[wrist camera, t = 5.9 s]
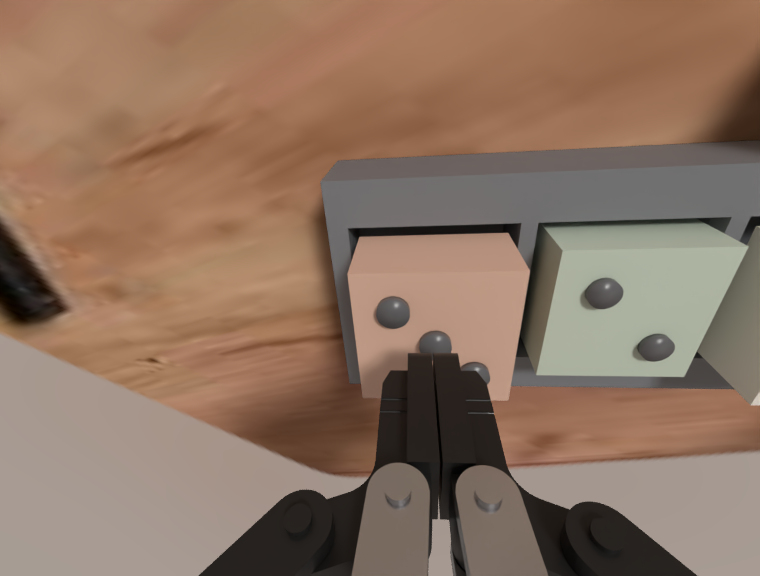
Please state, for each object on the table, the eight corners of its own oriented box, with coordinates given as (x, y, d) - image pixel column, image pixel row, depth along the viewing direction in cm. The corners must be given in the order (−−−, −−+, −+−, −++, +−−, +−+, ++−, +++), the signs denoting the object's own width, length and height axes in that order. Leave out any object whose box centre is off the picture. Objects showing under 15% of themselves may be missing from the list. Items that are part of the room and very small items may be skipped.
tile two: (687, 214, 14) (756, 250, 11) (643, 330, 17) (689, 382, 14) (536, 218, 15) (566, 254, 12) (518, 330, 17) (538, 380, 15)
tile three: (508, 232, 14) (532, 275, 11) (493, 348, 16) (510, 406, 14) (359, 236, 14) (345, 278, 11) (370, 348, 17) (361, 403, 14)
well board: (908, 132, 14) (1044, 150, 11) (777, 339, 19) (846, 390, 16) (337, 160, 16) (320, 181, 13) (358, 339, 21) (349, 383, 18)
